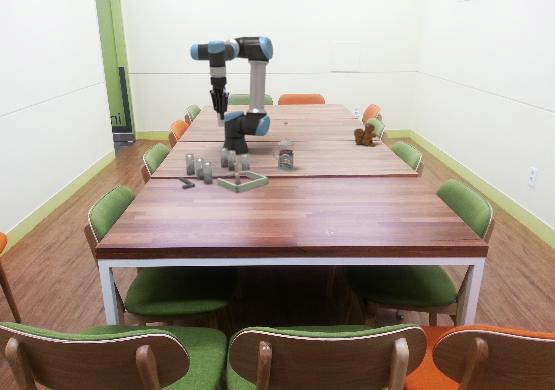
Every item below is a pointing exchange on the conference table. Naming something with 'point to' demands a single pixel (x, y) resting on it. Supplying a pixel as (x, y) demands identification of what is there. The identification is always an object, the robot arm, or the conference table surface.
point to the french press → (285, 157)
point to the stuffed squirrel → (365, 135)
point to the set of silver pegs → (206, 167)
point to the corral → (257, 182)
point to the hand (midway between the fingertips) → (221, 126)
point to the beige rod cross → (237, 173)
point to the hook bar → (189, 184)
